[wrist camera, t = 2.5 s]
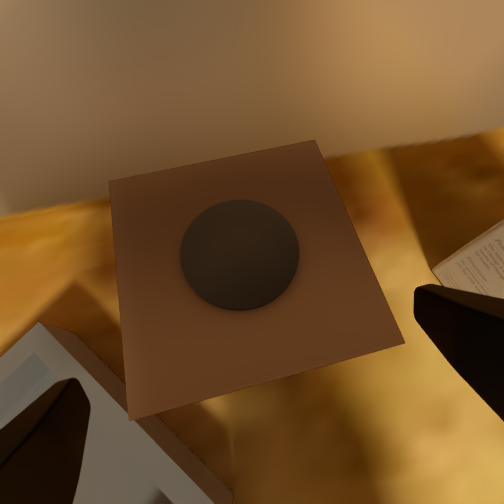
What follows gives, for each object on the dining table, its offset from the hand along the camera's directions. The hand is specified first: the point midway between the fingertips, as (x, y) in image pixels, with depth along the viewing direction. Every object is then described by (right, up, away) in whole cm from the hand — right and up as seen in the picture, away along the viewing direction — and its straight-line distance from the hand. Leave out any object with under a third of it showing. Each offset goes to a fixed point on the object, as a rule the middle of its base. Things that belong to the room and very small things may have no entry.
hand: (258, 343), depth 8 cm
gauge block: (0, -2, +9) cm, 10 cm away
